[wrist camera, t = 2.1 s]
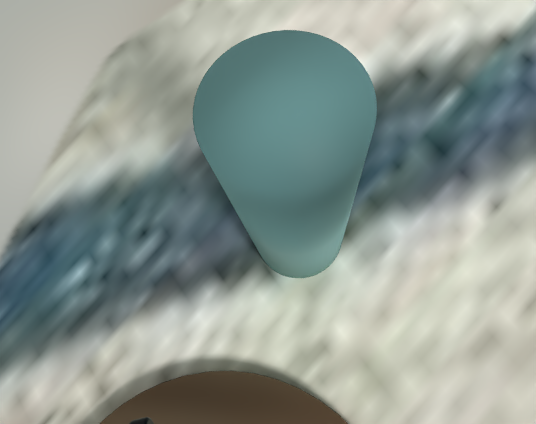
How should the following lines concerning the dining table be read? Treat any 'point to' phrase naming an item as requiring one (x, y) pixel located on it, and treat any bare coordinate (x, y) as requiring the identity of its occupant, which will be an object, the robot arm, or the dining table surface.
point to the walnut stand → (225, 402)
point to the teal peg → (288, 142)
